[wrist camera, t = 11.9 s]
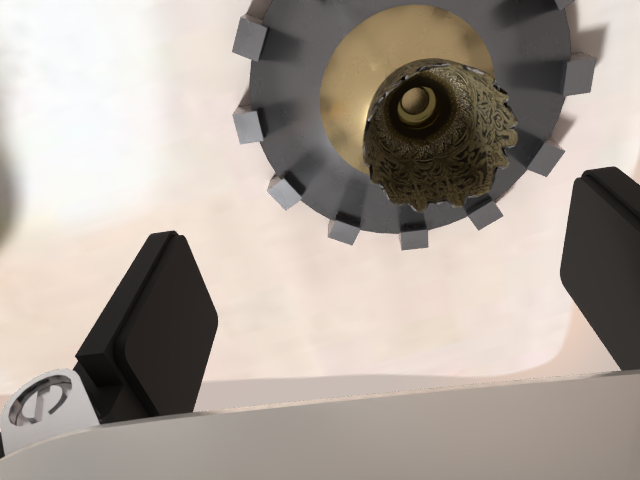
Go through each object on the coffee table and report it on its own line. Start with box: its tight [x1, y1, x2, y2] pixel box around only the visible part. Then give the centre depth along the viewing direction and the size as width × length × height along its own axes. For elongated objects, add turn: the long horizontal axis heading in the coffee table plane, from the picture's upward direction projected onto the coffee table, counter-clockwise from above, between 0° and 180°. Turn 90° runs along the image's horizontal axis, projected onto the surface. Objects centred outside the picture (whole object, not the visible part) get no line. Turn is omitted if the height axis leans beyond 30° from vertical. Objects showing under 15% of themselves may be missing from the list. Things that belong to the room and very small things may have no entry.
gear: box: [232, 0, 596, 250], centre depth 29 cm, size 22×22×2 cm
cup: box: [362, 58, 518, 213], centre depth 25 cm, size 8×7×8 cm
